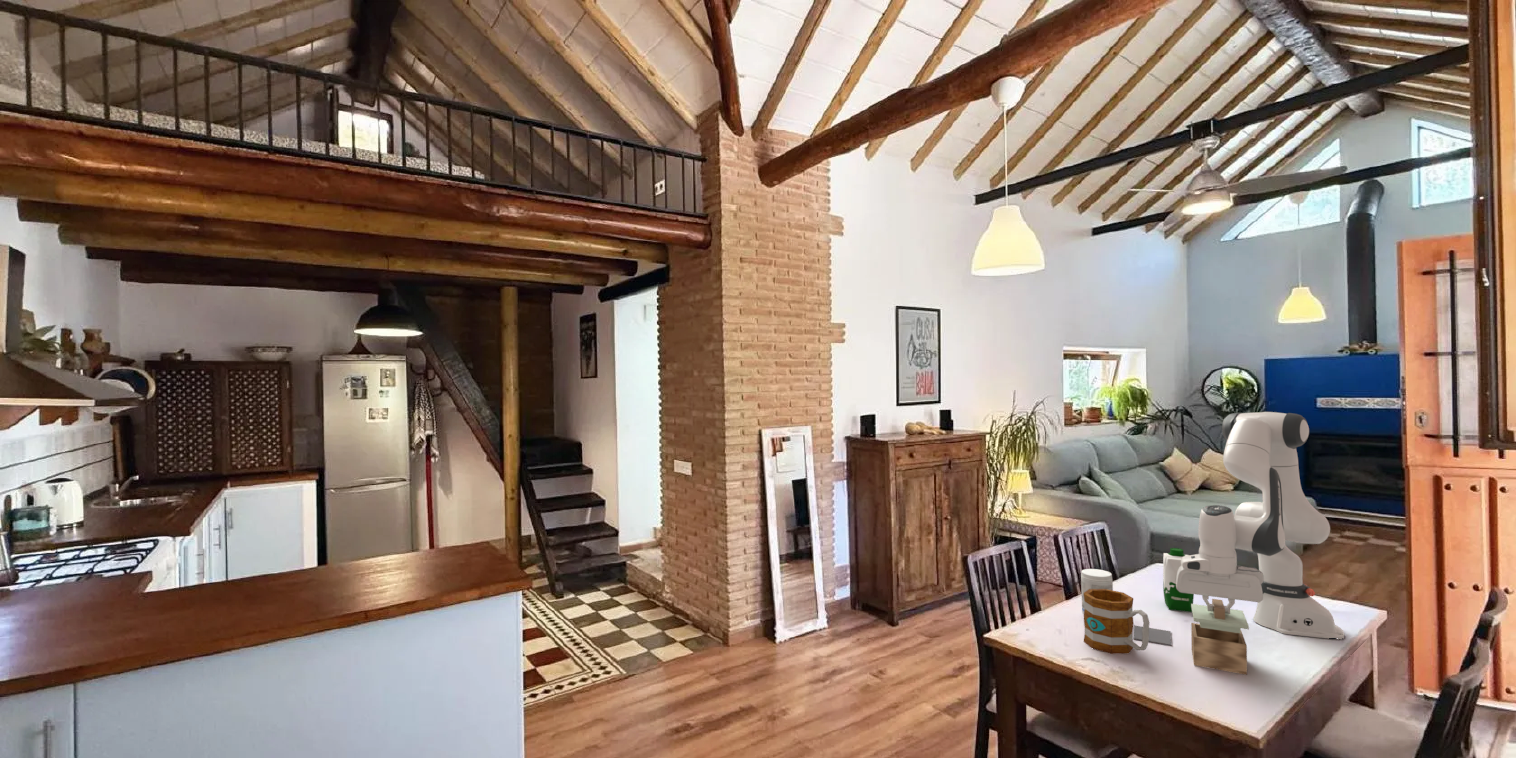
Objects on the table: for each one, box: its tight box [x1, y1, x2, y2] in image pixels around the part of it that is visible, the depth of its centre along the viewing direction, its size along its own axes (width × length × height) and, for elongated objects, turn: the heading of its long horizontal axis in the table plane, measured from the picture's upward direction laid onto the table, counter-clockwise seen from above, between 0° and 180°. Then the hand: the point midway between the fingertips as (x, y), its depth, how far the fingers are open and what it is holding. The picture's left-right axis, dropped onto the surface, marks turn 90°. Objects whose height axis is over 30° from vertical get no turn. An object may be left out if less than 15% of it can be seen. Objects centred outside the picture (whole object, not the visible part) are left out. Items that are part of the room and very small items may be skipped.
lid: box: [1191, 598, 1249, 633], centre depth 185 cm, size 12×12×6 cm
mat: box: [1133, 624, 1173, 647], centre depth 204 cm, size 10×12×1 cm
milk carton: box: [1162, 547, 1195, 613], centre depth 228 cm, size 9×9×20 cm
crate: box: [1190, 622, 1248, 676], centre depth 185 cm, size 12×12×8 cm
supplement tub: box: [1080, 568, 1114, 615], centre depth 222 cm, size 10×10×15 cm
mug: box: [1083, 589, 1150, 655], centre depth 195 cm, size 20×14×15 cm
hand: (1218, 611), depth 185 cm, fingers closed on lid, 2 cm apart
